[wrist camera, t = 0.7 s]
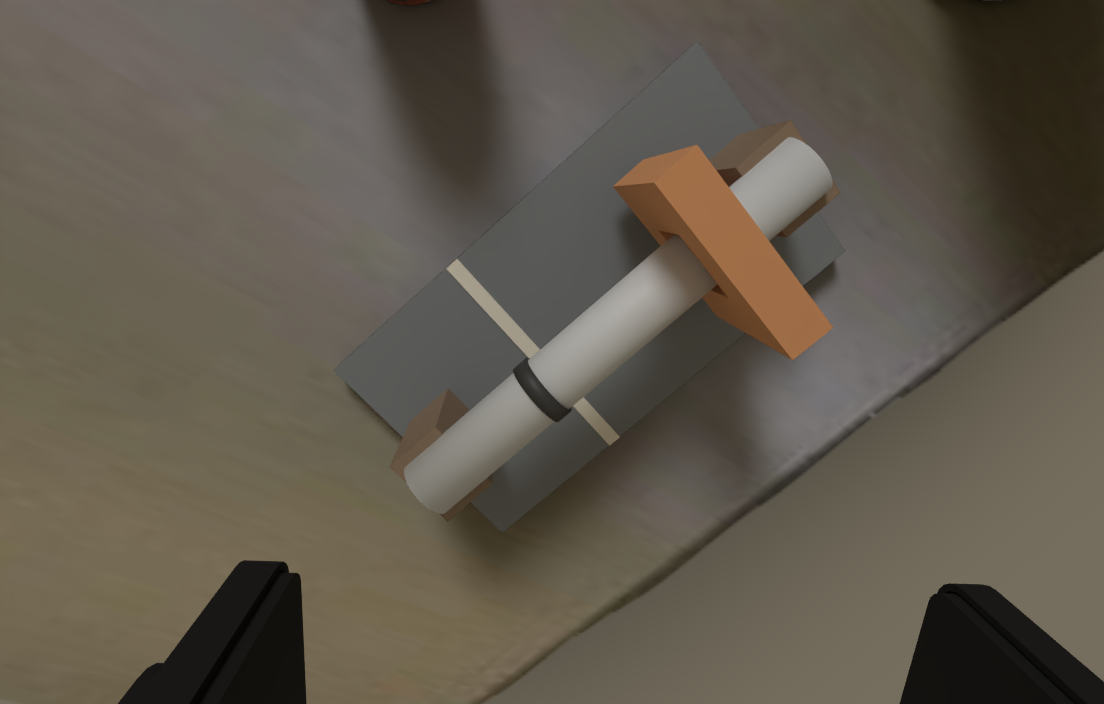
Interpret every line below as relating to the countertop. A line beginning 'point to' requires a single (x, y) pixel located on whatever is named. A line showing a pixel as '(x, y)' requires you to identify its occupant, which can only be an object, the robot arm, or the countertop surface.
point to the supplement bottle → (409, 2)
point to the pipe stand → (580, 305)
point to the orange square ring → (724, 249)
